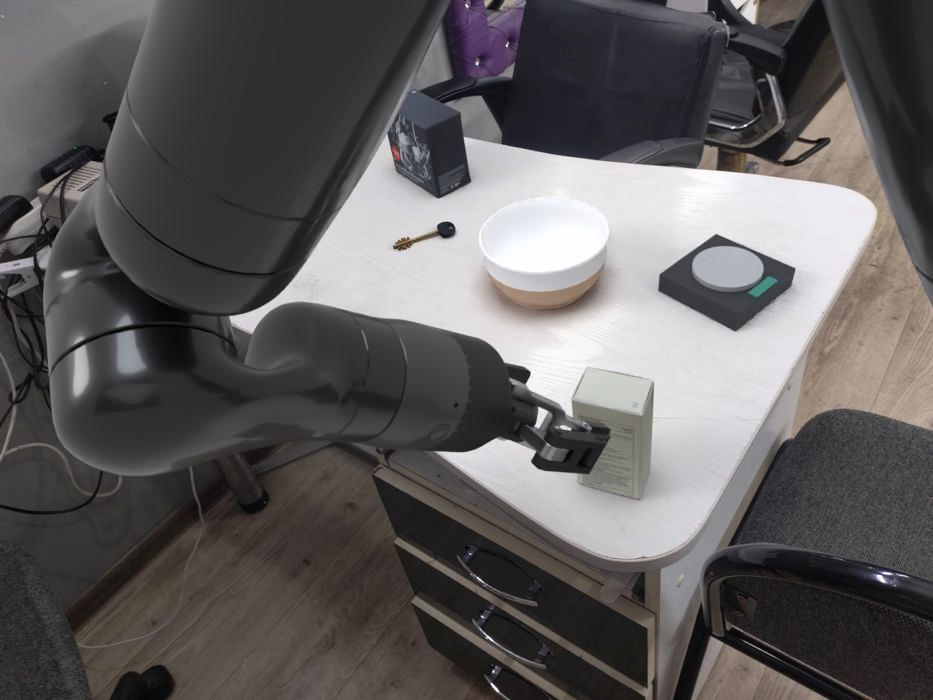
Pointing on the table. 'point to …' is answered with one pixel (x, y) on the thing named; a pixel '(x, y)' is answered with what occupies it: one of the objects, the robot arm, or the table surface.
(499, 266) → the bowl
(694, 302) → the scale
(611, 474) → the cosmetic box
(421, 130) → the small box
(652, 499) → the table surface
